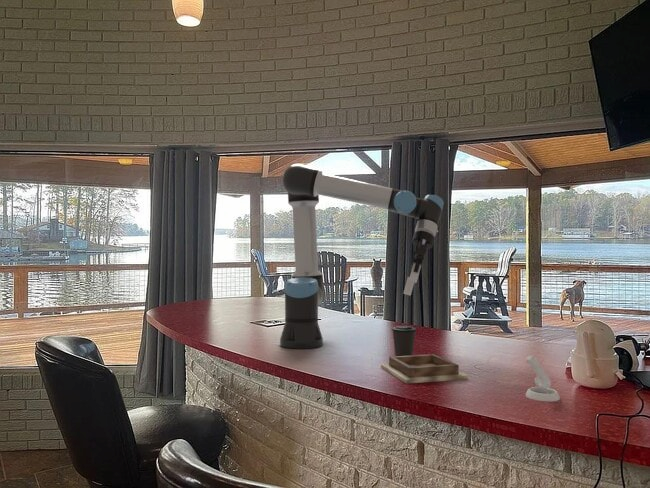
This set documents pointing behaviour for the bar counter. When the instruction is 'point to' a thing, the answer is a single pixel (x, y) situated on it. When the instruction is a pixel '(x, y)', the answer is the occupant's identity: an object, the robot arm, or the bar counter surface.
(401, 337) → the coffee cup
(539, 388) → the white ring with rod
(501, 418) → the bar counter surface
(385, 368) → the collar board
